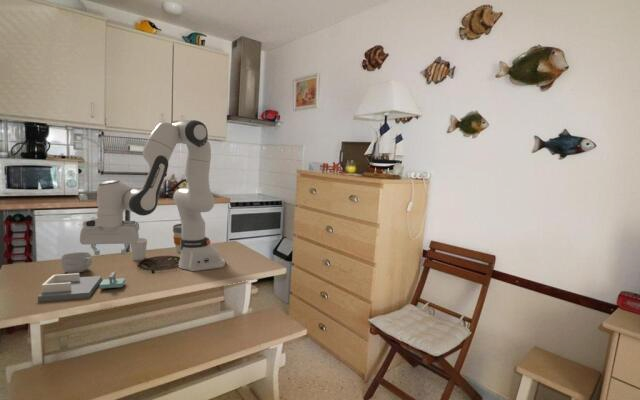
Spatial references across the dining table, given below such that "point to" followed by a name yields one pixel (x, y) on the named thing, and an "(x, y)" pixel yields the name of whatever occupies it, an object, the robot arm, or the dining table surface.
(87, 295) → the dock
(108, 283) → the trolley
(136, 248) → the dixie cup
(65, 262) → the teacup
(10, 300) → the dining table surface
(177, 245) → the reusable coffee cup
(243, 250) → the dining table surface
